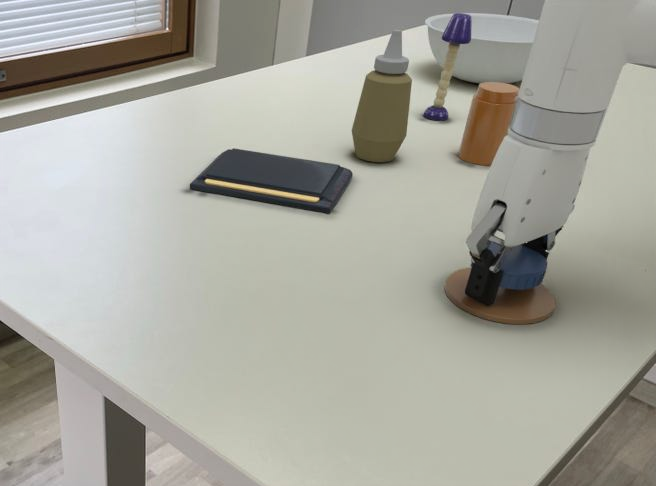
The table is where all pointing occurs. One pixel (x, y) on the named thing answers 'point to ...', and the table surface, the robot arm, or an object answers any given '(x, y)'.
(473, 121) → the jar
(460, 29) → the toy lamp
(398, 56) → the squeeze bottle
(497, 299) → the coaster
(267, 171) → the wallet
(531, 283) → the lid
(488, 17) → the bowl
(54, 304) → the table surface
